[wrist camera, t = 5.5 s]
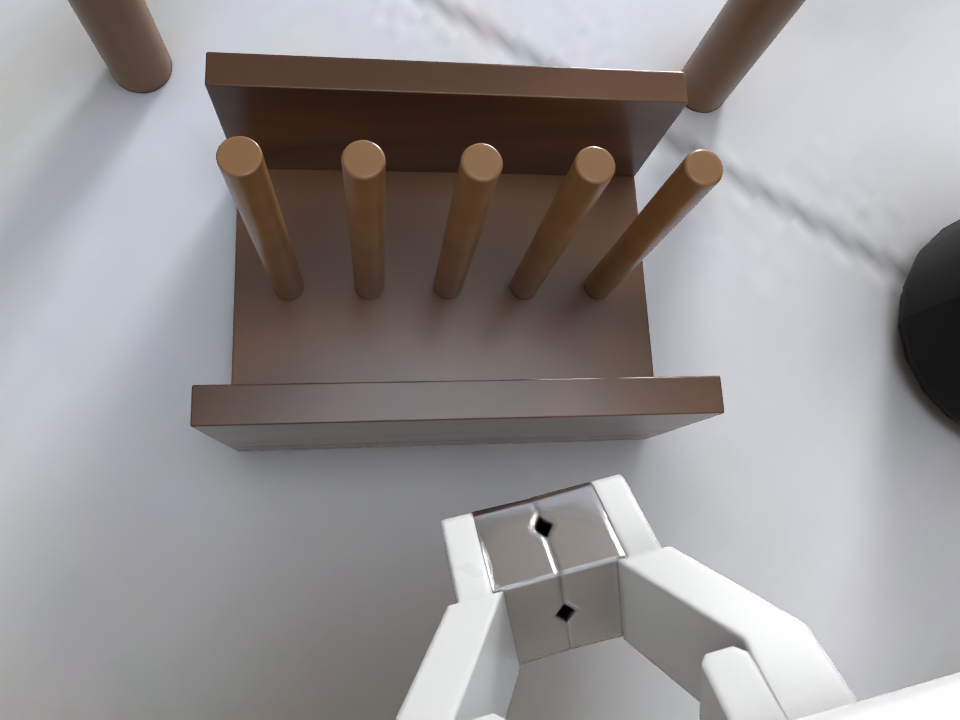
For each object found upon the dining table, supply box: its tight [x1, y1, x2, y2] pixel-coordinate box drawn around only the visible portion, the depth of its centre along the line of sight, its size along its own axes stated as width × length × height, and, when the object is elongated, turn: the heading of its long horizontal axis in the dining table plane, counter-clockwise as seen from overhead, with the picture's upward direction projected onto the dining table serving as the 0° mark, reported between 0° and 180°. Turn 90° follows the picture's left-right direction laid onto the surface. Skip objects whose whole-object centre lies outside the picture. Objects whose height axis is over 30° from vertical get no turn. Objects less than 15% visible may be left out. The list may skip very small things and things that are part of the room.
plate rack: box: [190, 52, 724, 451], centre depth 24 cm, size 12×16×12 cm
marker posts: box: [68, 0, 805, 112], centre depth 28 cm, size 2×27×9 cm, turn 93°
